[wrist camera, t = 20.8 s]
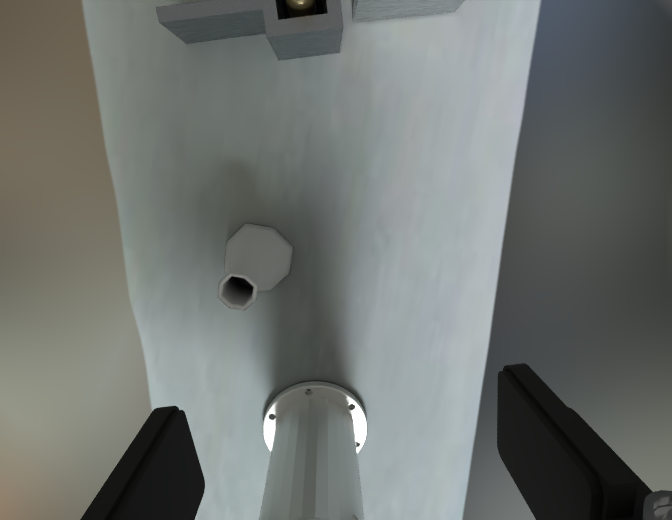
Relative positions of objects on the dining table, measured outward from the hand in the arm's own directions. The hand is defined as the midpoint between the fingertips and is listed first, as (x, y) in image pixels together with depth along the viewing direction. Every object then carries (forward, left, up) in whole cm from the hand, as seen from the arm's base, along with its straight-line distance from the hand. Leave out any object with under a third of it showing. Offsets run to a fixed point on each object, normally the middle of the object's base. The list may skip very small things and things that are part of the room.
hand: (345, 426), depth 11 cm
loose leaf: (+19, -9, -28) cm, 35 cm away
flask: (-2, +8, -29) cm, 30 cm away
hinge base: (+19, +4, -28) cm, 34 cm away
